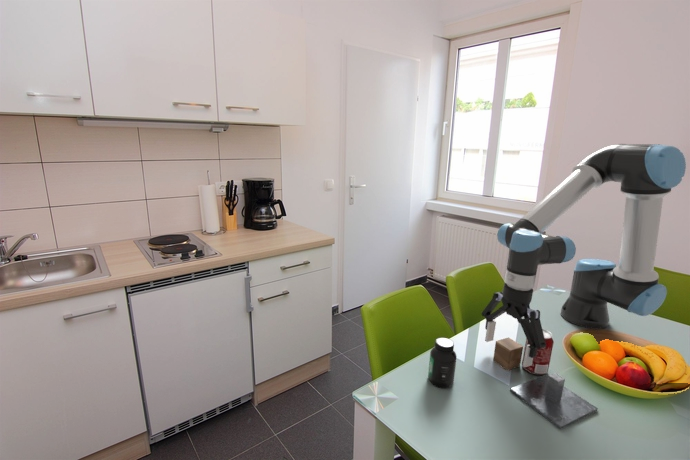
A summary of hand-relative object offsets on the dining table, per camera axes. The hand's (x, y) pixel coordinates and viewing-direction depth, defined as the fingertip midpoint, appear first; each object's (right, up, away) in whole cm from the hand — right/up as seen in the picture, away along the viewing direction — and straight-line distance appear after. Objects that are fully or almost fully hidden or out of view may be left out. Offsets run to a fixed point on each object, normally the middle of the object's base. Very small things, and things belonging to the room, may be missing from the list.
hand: (507, 352), depth 104 cm
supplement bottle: (-22, -6, -7) cm, 23 cm away
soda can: (+7, -5, -1) cm, 9 cm away
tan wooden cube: (0, -4, +1) cm, 4 cm away
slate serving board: (+5, -8, -14) cm, 17 cm away
